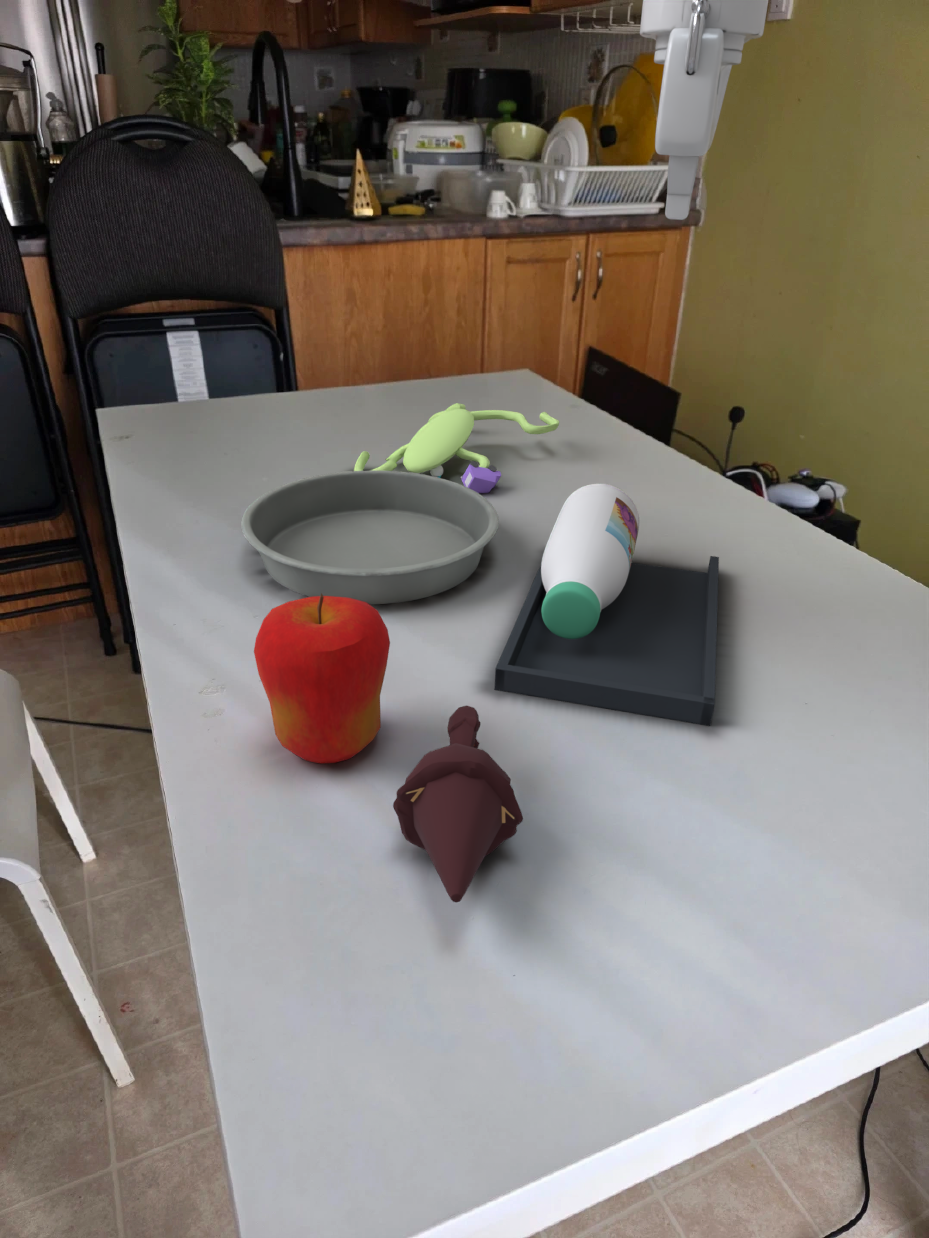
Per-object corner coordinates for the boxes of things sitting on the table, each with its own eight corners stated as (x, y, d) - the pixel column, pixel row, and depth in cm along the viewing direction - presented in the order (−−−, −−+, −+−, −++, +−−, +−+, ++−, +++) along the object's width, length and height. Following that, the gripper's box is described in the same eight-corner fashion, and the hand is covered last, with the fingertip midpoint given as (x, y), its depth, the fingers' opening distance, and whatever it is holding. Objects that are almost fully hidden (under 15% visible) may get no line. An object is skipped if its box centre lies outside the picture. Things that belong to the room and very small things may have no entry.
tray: (551, 555, 89) (553, 535, 88) (715, 577, 85) (718, 556, 84) (494, 692, 67) (495, 668, 66) (709, 729, 64) (714, 704, 63)
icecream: (549, 861, 43) (528, 706, 57) (402, 827, 42) (417, 678, 56) (506, 963, 46) (497, 792, 60) (368, 933, 45) (390, 766, 59)
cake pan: (190, 571, 83) (184, 527, 81) (348, 492, 102) (346, 454, 100) (407, 644, 73) (406, 596, 71) (539, 541, 91) (542, 500, 89)
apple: (386, 704, 65) (383, 560, 60) (396, 777, 58) (393, 621, 52) (267, 712, 64) (252, 566, 58) (262, 787, 57) (245, 629, 51)
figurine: (570, 449, 118) (574, 407, 115) (472, 513, 97) (474, 465, 95) (451, 425, 125) (452, 386, 123) (337, 480, 105) (335, 434, 102)
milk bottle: (555, 545, 89) (514, 645, 72) (568, 474, 85) (528, 562, 68) (631, 561, 87) (608, 667, 71) (648, 489, 84) (627, 583, 67)
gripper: (753, -11, 54) (716, 233, 61) (746, 23, 72) (717, 210, 78) (649, -10, 56) (624, 228, 62) (667, 22, 73) (646, 206, 80)
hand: (676, 218), depth 71 cm, fingers closed
